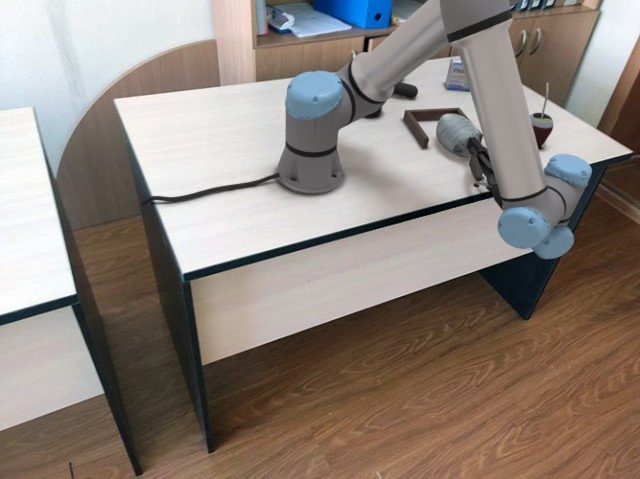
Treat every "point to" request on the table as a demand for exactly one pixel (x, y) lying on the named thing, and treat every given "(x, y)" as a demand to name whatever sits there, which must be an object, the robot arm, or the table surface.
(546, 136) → the mate gourd
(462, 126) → the grey marbled egg
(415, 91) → the gaming controller
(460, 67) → the medicine box
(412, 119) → the dock
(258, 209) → the table surface
